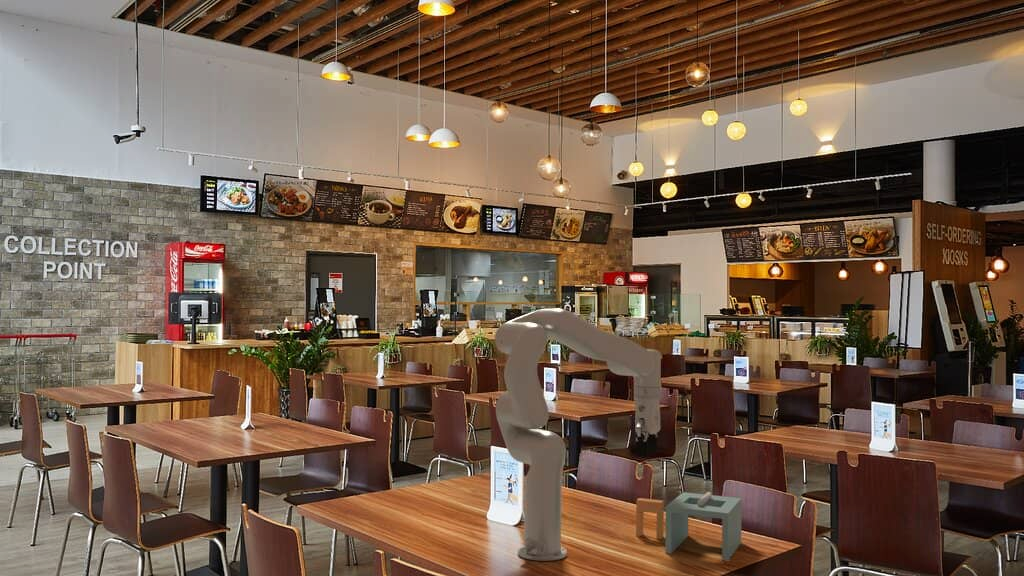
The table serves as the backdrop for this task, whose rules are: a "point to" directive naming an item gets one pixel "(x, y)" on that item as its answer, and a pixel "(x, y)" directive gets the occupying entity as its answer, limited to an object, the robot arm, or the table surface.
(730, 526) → the shelf
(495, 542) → the table surface
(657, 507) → the wooden arch bridge
